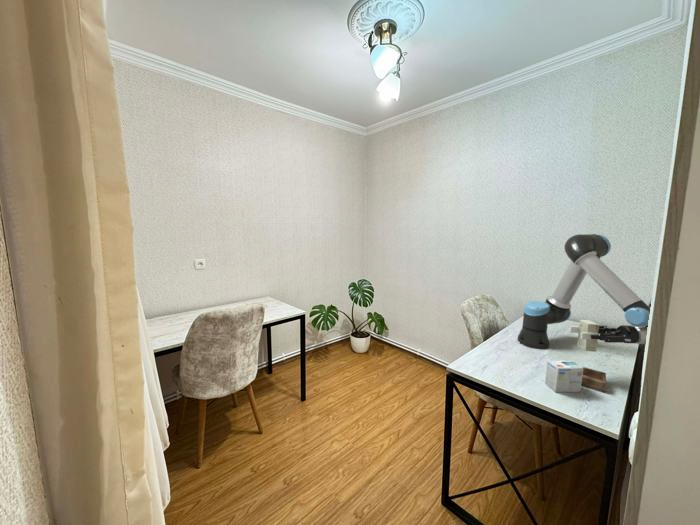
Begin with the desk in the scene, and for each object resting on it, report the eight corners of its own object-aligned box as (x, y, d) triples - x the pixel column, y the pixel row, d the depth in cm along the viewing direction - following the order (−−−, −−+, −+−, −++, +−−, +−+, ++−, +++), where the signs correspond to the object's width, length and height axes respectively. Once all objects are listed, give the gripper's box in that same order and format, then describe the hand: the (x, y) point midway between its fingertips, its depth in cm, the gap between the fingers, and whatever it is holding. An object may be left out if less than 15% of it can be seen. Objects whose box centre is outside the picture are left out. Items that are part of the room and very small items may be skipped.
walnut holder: (570, 382, 122) (571, 374, 121) (572, 372, 130) (573, 364, 129) (604, 392, 115) (606, 383, 114) (604, 381, 123) (605, 372, 122)
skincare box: (596, 352, 121) (600, 324, 119) (585, 351, 122) (588, 324, 120) (587, 345, 127) (590, 319, 126) (576, 345, 128) (579, 319, 126)
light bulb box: (568, 383, 122) (571, 359, 120) (581, 392, 115) (584, 367, 113) (543, 383, 121) (546, 359, 120) (555, 392, 115) (558, 368, 113)
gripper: (653, 353, 113) (591, 350, 115) (612, 333, 132) (560, 332, 134) (656, 335, 112) (593, 332, 114) (615, 318, 131) (562, 316, 133)
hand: (575, 332), depth 124 cm, fingers closed on skincare box, 6 cm apart
